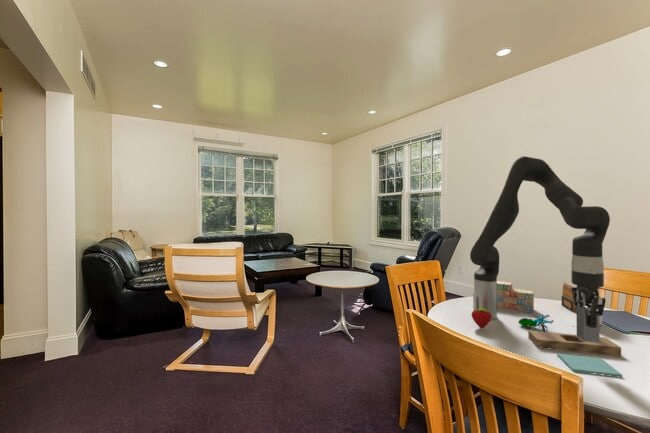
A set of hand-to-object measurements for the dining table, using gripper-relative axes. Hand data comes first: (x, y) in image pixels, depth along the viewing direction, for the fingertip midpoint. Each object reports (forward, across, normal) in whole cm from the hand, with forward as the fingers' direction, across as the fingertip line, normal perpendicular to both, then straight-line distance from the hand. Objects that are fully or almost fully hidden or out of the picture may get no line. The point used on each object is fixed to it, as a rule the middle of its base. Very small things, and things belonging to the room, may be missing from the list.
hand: (587, 324), depth 91 cm
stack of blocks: (+13, -58, -6) cm, 60 cm away
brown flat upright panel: (+13, -62, +22) cm, 67 cm away
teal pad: (+13, 0, 0) cm, 13 cm away
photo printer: (+13, -40, +21) cm, 47 cm away
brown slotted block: (+13, -14, +2) cm, 19 cm away
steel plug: (+5, 0, 0) cm, 5 cm away
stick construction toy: (+13, -29, -4) cm, 32 cm away
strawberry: (+13, -24, -25) cm, 37 cm away
